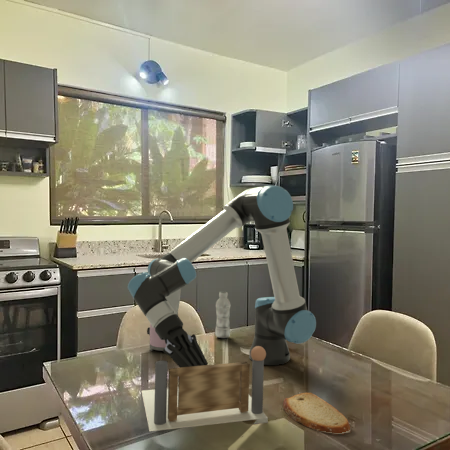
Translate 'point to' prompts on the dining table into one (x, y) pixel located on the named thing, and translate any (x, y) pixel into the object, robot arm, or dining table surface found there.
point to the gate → (208, 388)
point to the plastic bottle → (222, 316)
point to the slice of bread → (315, 413)
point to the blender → (154, 338)
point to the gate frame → (159, 412)
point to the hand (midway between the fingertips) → (214, 393)
